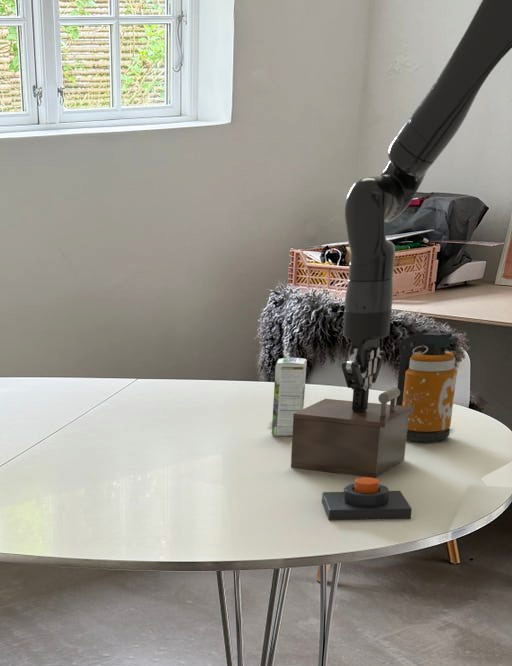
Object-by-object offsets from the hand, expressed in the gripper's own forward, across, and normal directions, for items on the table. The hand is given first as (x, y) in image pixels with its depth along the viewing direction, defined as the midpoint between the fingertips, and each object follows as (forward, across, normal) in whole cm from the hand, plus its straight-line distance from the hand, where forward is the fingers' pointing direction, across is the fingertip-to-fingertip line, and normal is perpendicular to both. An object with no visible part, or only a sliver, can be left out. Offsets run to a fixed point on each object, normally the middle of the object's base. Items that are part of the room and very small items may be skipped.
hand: (359, 410), depth 167 cm
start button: (+7, -23, -11) cm, 26 cm away
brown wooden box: (+10, 0, +2) cm, 10 cm away
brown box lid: (+1, 0, +1) cm, 1 cm away
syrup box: (+10, +15, +21) cm, 28 cm away
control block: (+10, -23, -12) cm, 27 cm away
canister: (+10, +22, -3) cm, 25 cm away
